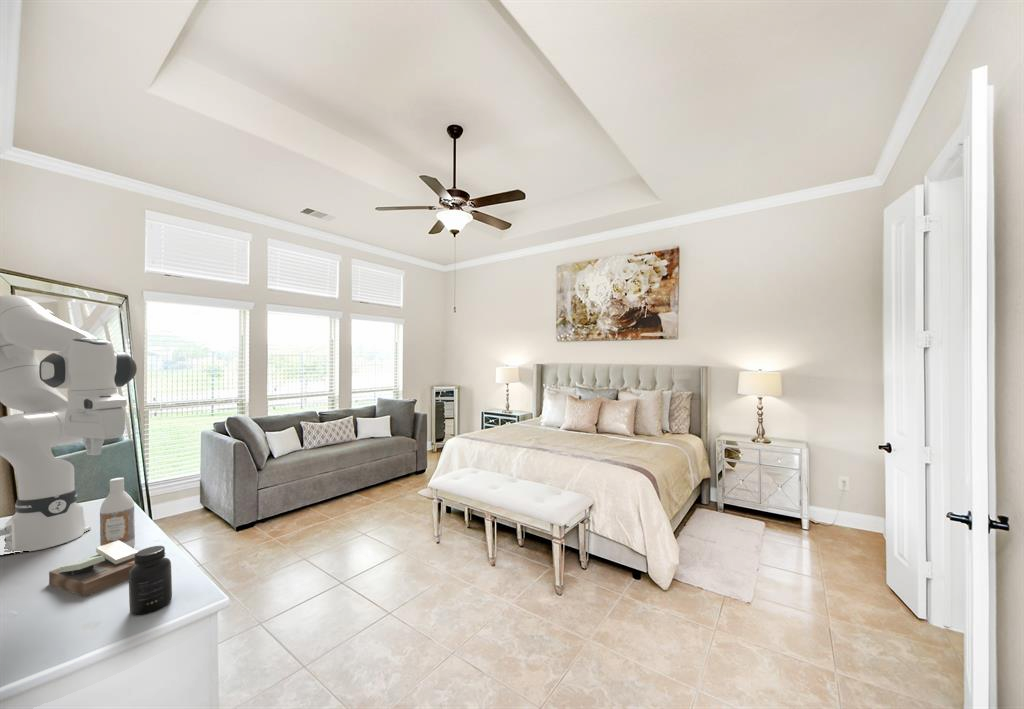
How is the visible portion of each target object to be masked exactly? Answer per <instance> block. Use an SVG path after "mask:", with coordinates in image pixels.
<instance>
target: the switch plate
mask: <svg viewBox="0 0 1024 709" xmlns="http://www.w3.org/2000/svg"><path fill="white" fill-rule="evenodd" d="M97 556H101V555H100V554H97V555H93V556H90V557H89V558H91V557H97ZM104 559H105V561H102V562H99V563H96V564H94V565H91V566H88V567H85V568H83V569H80V570H73V571H67V572H60V567H58V568H56V569H53V570H50V571H48V576H49V579H48V581H49V582H48V583H49V585H51V586H53V587H56V588H59V589H60V590H64V591H66V592H69V593H72V592H73V593H72V594H75V595H77V594H78V596H80V597H84V598H86V596H87V597H89V596H91V594H92V595H94V594H96V593H98V592H102V591H104V590H106V589H109V588H111V587H114V586H116V585H118V584H120V583H123V582H125V581H127V580H128V581H129V572H130V570H131V569H132V568H133V567H134V566H135V564H134V561H135V557H134V558H132V559H129V560H126V561H124V562H121V563H118V564H114V563H113V562H111V561H109V560H108V559H106V558H104Z"/></svg>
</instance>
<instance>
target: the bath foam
mask: <svg viewBox="0 0 1024 709" xmlns="http://www.w3.org/2000/svg"><path fill="white" fill-rule="evenodd" d="M135 528H136V526H135V502H134V500H133V497H132V496H131V495H130V494H129V493H128V492H127V491H125V477H115V478H111V479H110V480H109V493H108V495H107V496H106V498H105V499H104V500H103V502H102V504H101V506H100V510H99V534H100V538H99V539H100V541H99V543H100V545H99V546H103V545H106V544H109V543H112V542H115V541H118V540H119V541H121V542H123V543H124V544H126V545H128V546H130V547H131V548H134V546H135V545H136V543H135V542H136V537H135V536H136V534H135V531H136V530H135Z"/></svg>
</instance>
